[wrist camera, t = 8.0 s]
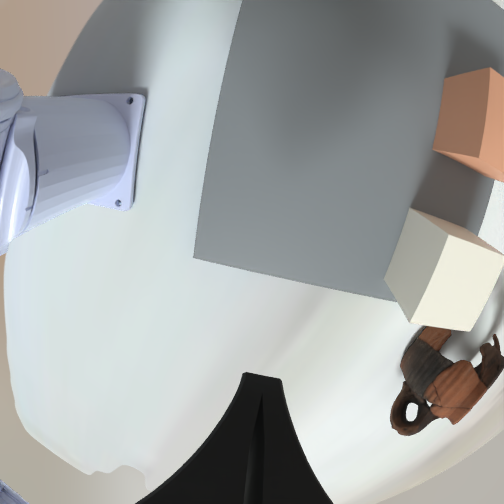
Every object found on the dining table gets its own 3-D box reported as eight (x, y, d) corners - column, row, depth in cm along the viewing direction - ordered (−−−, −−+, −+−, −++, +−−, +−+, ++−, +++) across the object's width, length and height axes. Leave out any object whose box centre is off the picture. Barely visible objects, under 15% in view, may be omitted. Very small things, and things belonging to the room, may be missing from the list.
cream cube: (383, 278, 18) (409, 322, 13) (409, 207, 16) (448, 234, 11) (439, 291, 17) (470, 331, 13) (464, 228, 15) (506, 257, 11)
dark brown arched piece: (452, 285, 19) (522, 343, 12) (456, 318, 24) (505, 362, 18) (354, 396, 20) (411, 466, 14) (383, 400, 26) (426, 449, 19)
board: (197, 252, 19) (193, 257, 18) (270, -75, 9) (269, -82, 8) (439, 304, 19) (444, 311, 18) (498, 13, 9) (505, 11, 8)
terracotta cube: (432, 149, 14) (478, 157, 9) (444, 78, 12) (490, 67, 7) (485, 176, 14) (532, 193, 9) (497, 111, 12) (544, 113, 7)
